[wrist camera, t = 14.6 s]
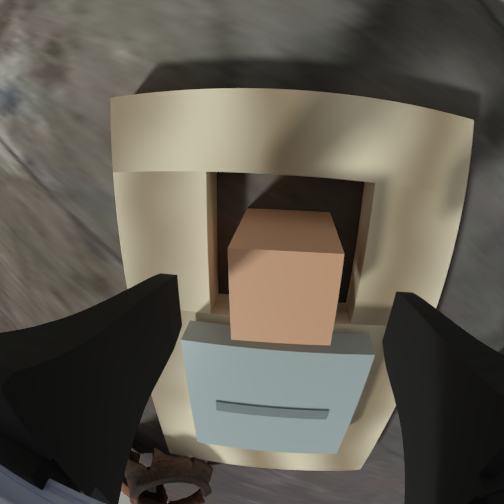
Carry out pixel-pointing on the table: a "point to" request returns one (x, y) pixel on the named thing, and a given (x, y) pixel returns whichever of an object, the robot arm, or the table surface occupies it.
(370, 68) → the table surface
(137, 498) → the brown broken pot
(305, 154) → the light wood flat board
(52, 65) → the table surface
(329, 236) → the block
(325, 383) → the lid
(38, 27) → the table surface
